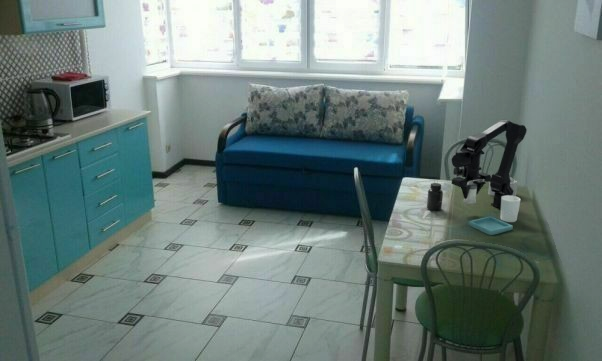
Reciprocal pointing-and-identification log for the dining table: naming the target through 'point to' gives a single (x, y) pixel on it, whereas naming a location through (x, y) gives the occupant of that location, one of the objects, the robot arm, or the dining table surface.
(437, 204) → the supplement bottle
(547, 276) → the dining table surface
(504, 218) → the white cup
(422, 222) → the dining table surface
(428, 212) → the butter knife
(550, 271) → the dining table surface
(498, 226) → the tray
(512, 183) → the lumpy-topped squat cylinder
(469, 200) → the spice jar
